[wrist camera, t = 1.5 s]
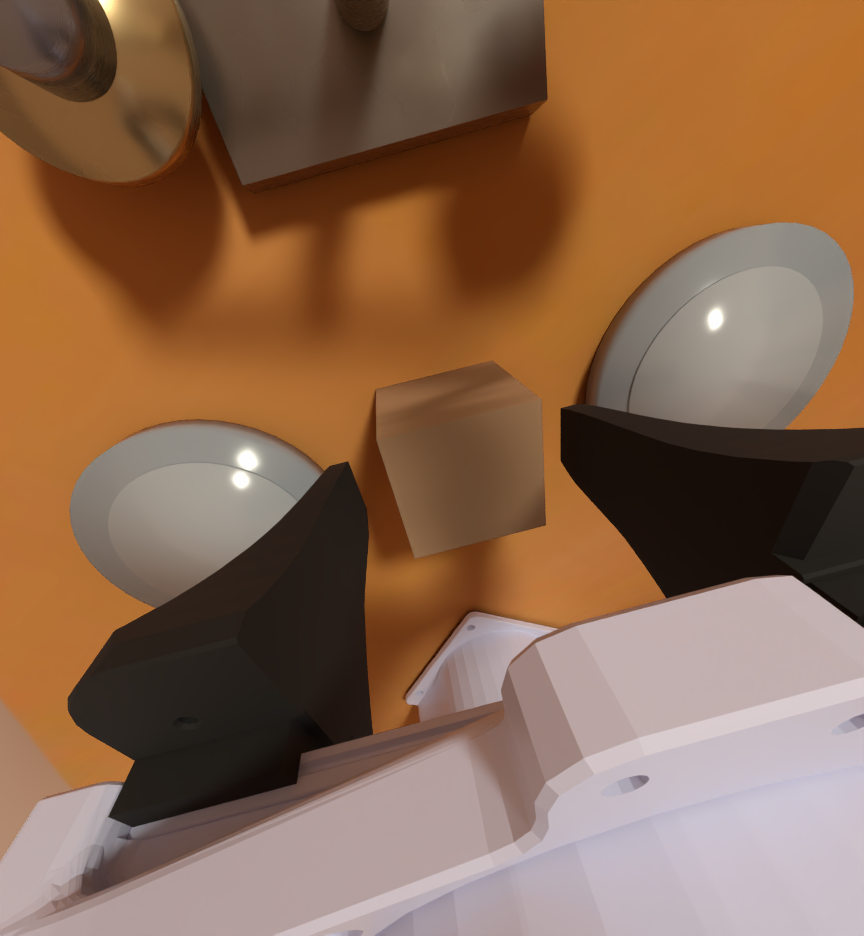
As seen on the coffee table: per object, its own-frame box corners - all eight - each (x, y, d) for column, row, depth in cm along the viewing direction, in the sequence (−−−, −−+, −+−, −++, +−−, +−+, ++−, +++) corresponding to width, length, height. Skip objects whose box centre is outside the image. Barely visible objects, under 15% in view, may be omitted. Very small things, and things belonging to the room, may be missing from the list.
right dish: (687, 498, 18) (704, 511, 17) (538, 430, 15) (550, 441, 14) (868, 310, 14) (904, 313, 13) (720, 157, 11) (754, 146, 10)
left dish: (311, 619, 18) (308, 638, 18) (85, 580, 15) (65, 601, 14) (382, 471, 14) (382, 485, 14) (95, 374, 11) (69, 384, 10)
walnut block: (491, 360, 13) (541, 398, 9) (502, 460, 15) (545, 525, 11) (375, 388, 13) (376, 440, 9) (404, 485, 15) (414, 558, 11)
